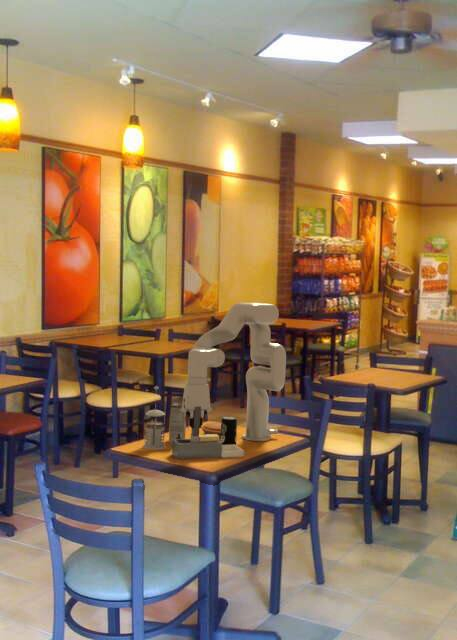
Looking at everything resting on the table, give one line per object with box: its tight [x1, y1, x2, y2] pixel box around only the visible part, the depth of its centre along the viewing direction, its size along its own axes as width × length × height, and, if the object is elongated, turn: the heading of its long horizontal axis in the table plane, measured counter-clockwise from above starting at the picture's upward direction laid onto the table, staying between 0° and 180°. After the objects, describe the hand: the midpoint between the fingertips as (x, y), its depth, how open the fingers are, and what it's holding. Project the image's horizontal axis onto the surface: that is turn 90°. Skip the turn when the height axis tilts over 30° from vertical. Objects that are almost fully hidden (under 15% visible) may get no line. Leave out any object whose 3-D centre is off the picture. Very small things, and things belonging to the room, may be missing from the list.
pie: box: [200, 422, 221, 440], centre depth 340 cm, size 15×16×5 cm
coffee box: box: [168, 401, 187, 445], centre depth 325 cm, size 9×6×16 cm
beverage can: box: [220, 415, 238, 445], centre depth 321 cm, size 7×7×12 cm
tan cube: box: [199, 434, 210, 443], centre depth 303 cm, size 4×4×4 cm
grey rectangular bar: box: [189, 407, 201, 443], centre depth 301 cm, size 2×4×16 cm, turn 19°
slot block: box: [171, 438, 222, 460], centre depth 302 cm, size 18×8×6 cm, turn 109°
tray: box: [221, 444, 245, 459], centre depth 307 cm, size 9×11×2 cm
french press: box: [142, 385, 167, 451], centre depth 313 cm, size 10×12×25 cm
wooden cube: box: [207, 434, 220, 442], centre depth 304 cm, size 4×4×4 cm
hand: (195, 427), depth 302 cm, fingers closed on grey rectangular bar, 2 cm apart
